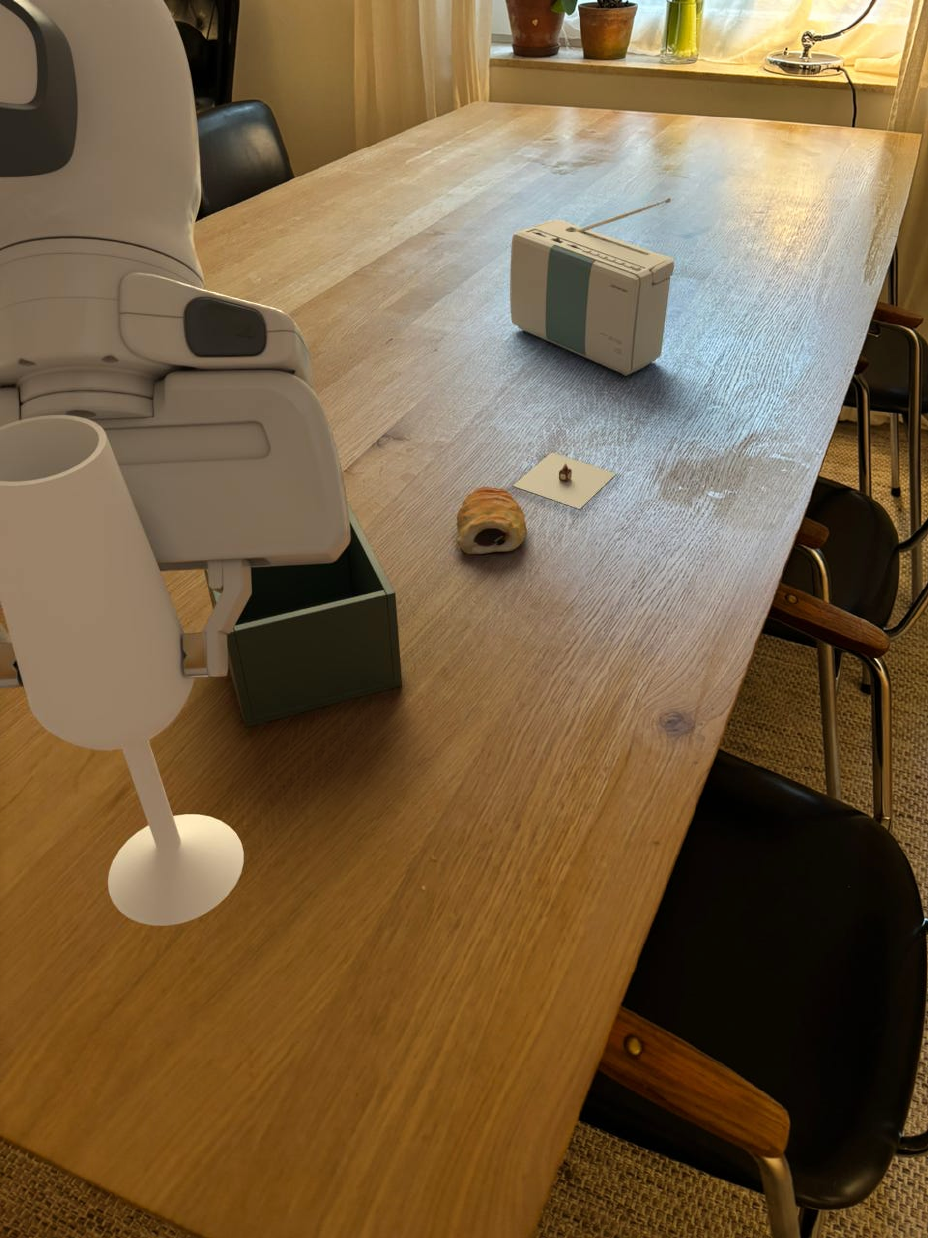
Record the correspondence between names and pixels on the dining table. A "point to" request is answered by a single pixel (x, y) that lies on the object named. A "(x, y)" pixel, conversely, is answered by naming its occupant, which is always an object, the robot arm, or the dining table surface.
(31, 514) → the champagne flute
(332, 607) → the bin
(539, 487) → the beige flat slab
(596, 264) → the radio
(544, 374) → the dining table surface
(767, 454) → the dining table surface
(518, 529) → the pastry
